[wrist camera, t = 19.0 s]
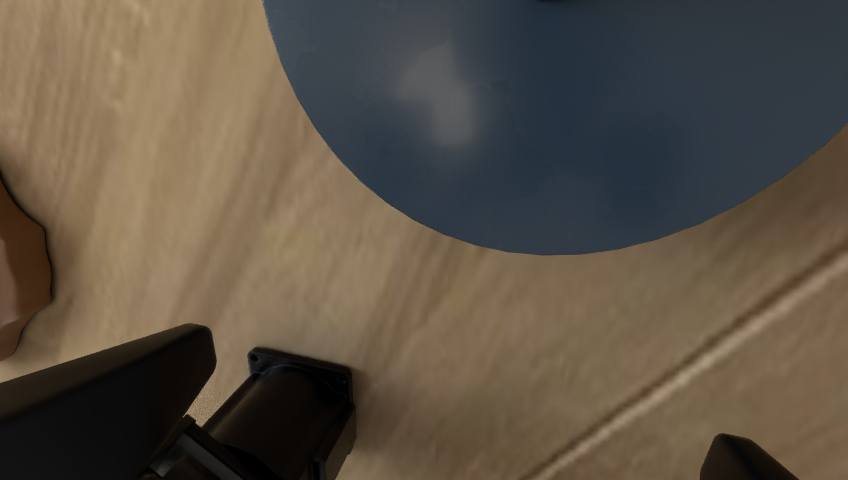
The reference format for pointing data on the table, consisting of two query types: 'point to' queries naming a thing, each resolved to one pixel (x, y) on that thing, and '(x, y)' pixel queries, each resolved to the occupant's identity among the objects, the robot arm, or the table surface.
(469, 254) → the table surface
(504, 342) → the table surface
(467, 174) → the pot lid
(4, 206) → the plant
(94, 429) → the robot arm
